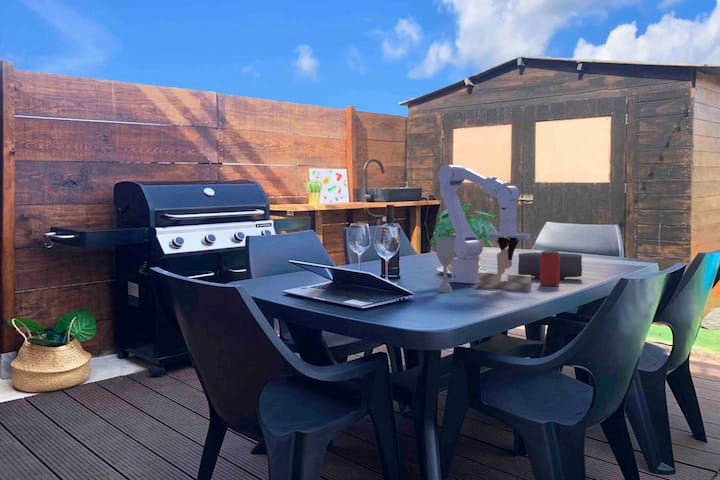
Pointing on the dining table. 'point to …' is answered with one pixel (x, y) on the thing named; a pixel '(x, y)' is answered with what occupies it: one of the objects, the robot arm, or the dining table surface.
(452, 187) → the robot arm
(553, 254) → the beer can
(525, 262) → the bluetooth speaker
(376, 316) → the dining table surface
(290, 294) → the dining table surface
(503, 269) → the tan thin board
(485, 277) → the slotted rail
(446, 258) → the chalice
